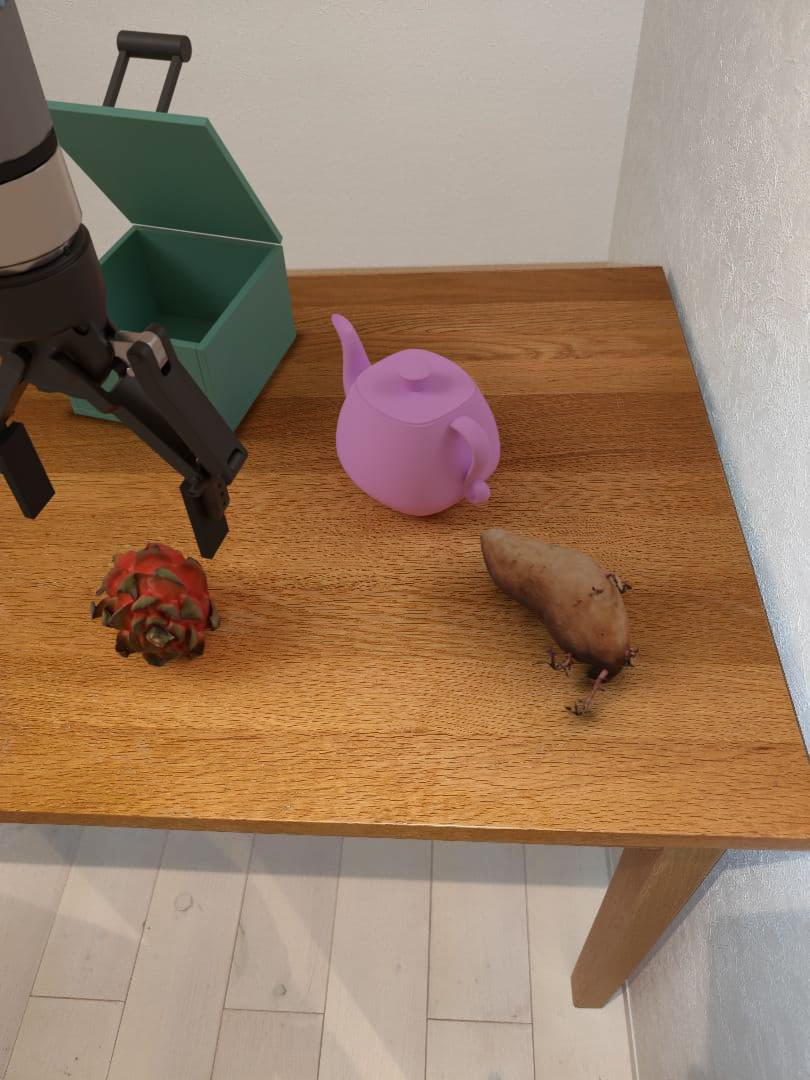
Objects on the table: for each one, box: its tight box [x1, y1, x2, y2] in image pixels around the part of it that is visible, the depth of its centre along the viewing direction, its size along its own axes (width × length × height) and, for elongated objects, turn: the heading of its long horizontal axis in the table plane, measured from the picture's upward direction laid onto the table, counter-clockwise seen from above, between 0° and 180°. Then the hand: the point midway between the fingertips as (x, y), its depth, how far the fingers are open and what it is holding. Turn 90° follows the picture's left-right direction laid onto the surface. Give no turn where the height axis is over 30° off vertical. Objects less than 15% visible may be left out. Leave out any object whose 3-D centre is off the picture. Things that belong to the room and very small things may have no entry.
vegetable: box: [479, 527, 640, 717], centre depth 66 cm, size 16×11×10 cm
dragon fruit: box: [89, 542, 222, 668], centre depth 68 cm, size 8×8×12 cm
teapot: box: [331, 313, 501, 517], centre depth 77 cm, size 20×13×12 cm, turn 41°
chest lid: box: [46, 29, 284, 245], centre depth 81 cm, size 18×17×9 cm
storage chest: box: [67, 224, 297, 433], centre depth 88 cm, size 18×17×11 cm
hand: (126, 524), depth 61 cm, fingers open, 13 cm apart
